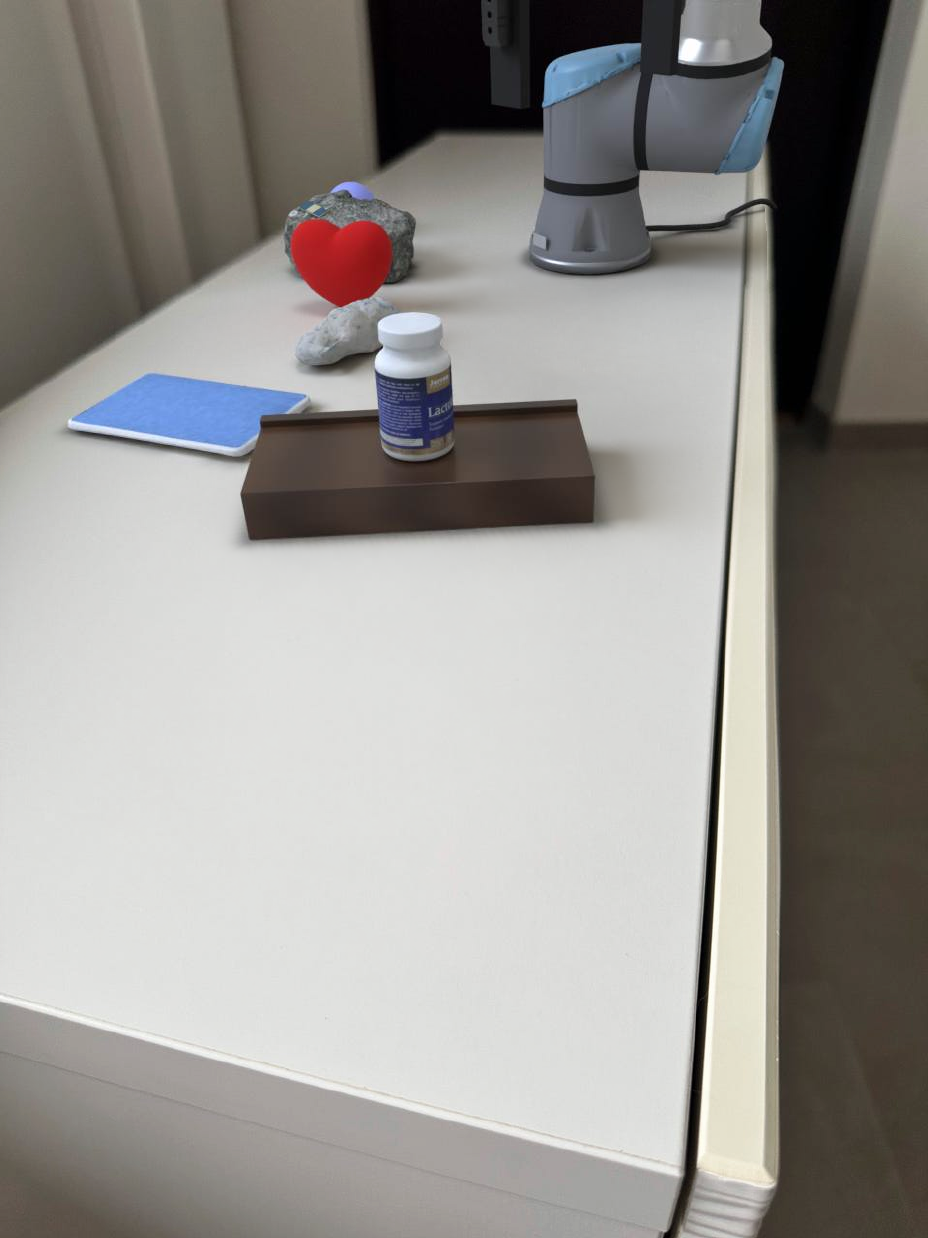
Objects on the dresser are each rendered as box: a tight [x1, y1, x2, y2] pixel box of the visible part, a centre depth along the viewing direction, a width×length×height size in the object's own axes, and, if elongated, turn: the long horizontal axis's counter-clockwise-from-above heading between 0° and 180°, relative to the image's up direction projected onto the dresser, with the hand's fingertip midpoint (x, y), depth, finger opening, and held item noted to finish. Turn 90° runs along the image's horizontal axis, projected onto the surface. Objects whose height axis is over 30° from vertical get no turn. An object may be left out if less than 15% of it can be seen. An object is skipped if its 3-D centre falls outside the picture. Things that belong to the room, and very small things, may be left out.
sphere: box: [330, 181, 376, 200], centre depth 140 cm, size 7×7×7 cm
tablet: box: [67, 372, 312, 458], centre depth 94 cm, size 19×13×1 cm, turn 67°
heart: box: [291, 219, 392, 308], centre depth 114 cm, size 12×5×10 cm, turn 75°
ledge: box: [239, 398, 596, 540], centre depth 80 cm, size 26×12×5 cm, turn 92°
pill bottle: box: [374, 311, 455, 461], centre depth 76 cm, size 6×6×10 cm
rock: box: [283, 190, 417, 283], centre depth 127 cm, size 18×14×10 cm
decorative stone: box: [295, 296, 401, 366], centre depth 105 cm, size 13×7×5 cm, turn 148°
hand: (588, 89), depth 66 cm, fingers open, 13 cm apart
